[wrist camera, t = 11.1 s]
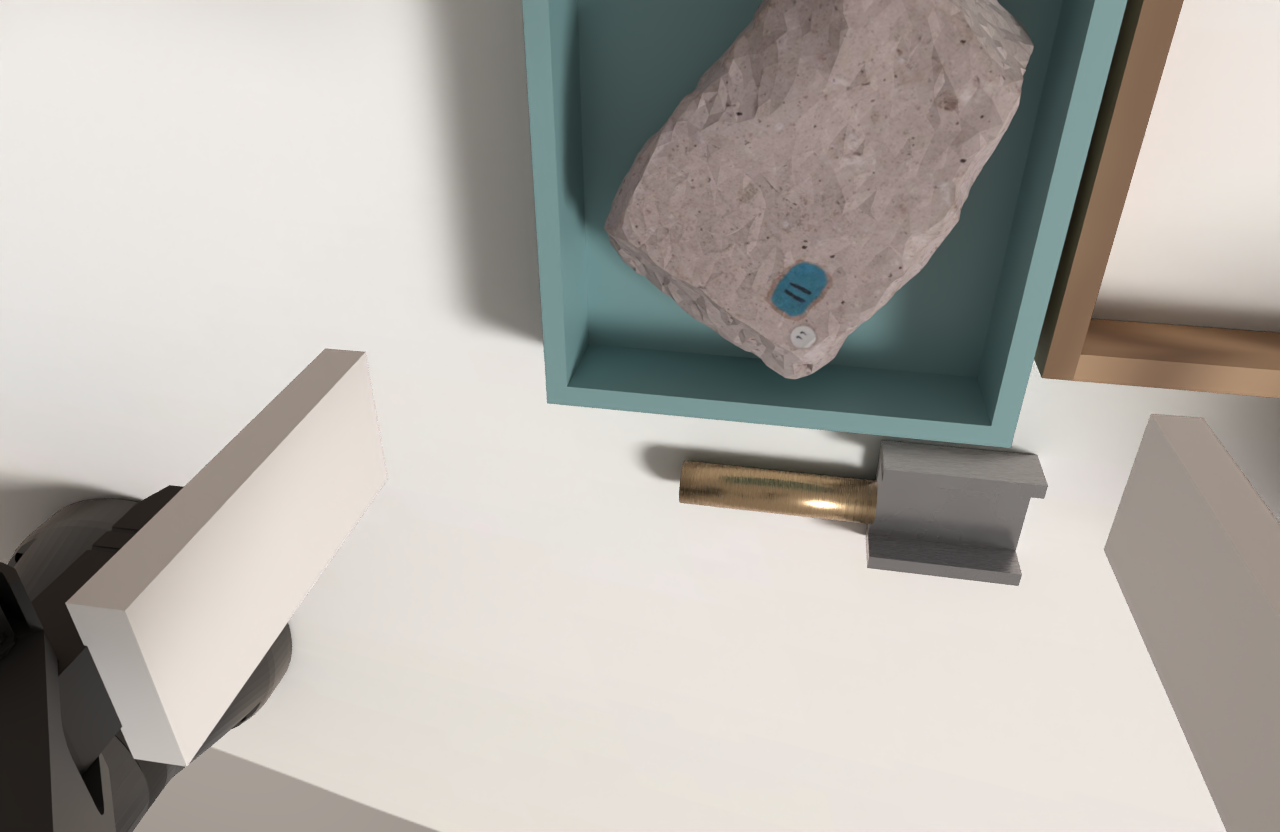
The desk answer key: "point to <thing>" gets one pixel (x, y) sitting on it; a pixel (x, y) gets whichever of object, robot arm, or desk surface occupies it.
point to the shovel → (900, 505)
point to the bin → (880, 347)
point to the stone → (819, 166)
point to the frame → (1068, 329)
